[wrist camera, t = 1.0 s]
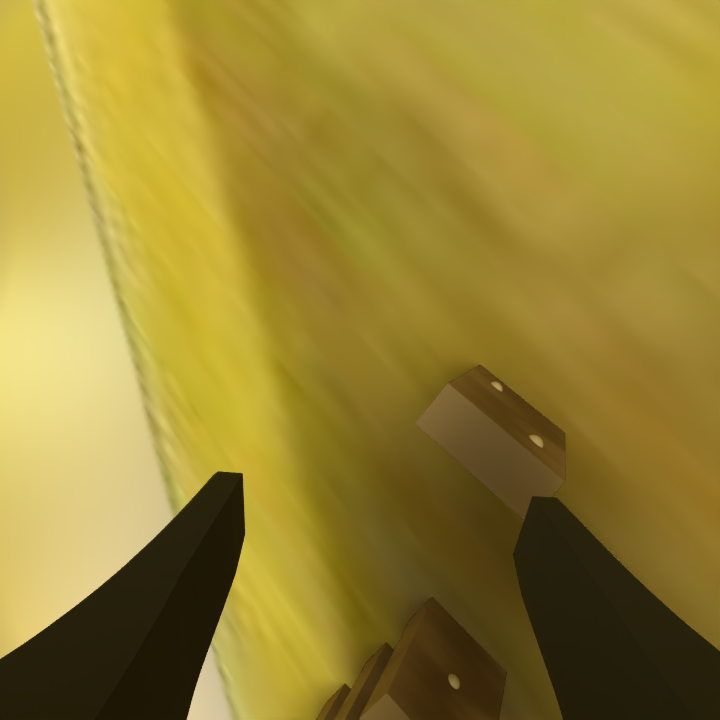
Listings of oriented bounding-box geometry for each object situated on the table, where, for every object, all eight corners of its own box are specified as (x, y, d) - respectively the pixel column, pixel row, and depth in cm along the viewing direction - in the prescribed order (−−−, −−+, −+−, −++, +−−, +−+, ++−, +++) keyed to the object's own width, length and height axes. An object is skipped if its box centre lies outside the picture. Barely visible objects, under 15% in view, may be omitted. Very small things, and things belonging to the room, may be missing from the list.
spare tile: (568, 430, 22) (569, 477, 15) (536, 462, 22) (524, 521, 16) (483, 361, 23) (451, 379, 17) (455, 394, 24) (415, 423, 17)
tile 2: (509, 670, 24) (488, 800, 17) (481, 693, 24) (451, 826, 18) (434, 595, 25) (389, 690, 19) (410, 618, 26) (359, 718, 19)
